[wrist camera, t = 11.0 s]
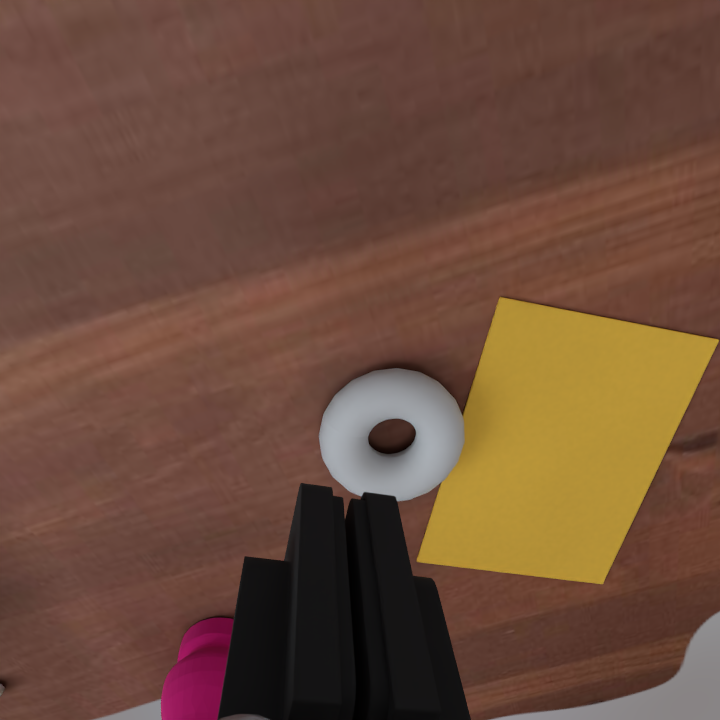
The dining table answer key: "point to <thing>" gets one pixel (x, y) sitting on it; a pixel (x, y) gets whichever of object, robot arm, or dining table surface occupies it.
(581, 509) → the cloth
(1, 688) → the tableware set
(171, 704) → the pepper mill
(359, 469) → the donut
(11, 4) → the dining table surface
